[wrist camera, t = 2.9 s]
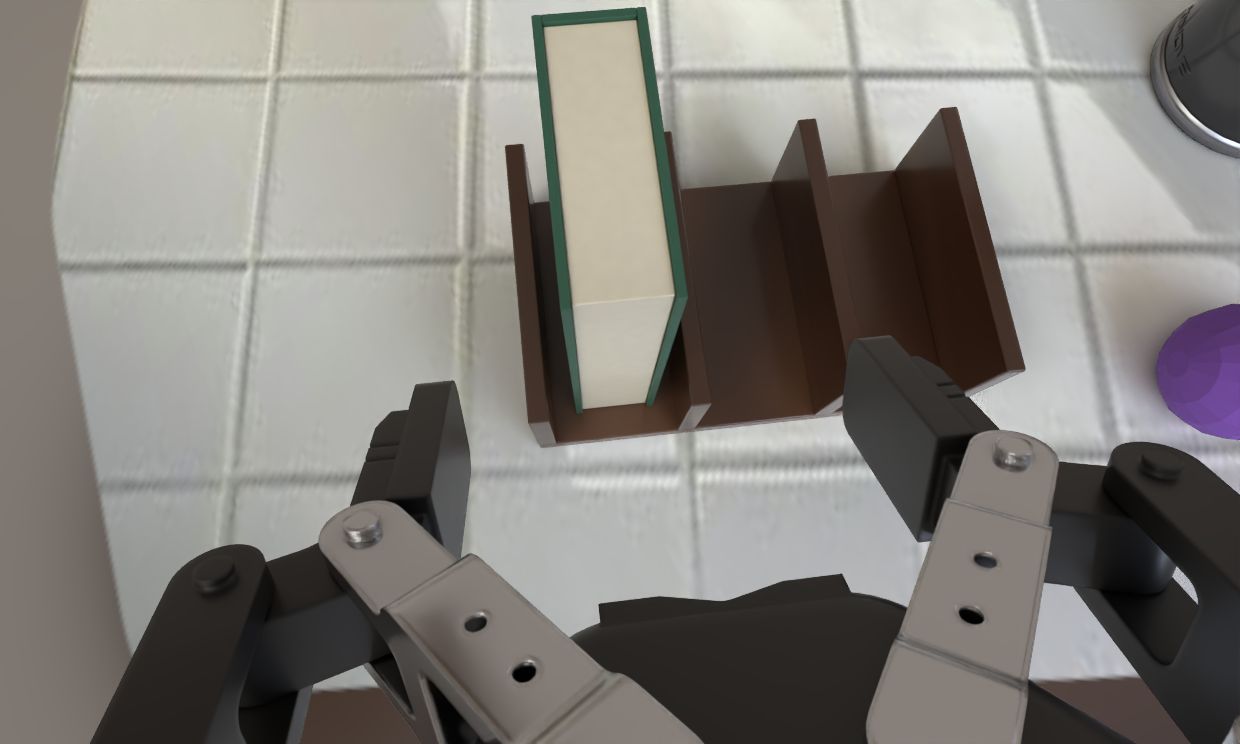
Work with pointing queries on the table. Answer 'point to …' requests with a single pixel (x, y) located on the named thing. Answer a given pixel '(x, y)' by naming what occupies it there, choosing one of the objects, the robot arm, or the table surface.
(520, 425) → the table surface
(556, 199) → the book
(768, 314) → the rack
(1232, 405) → the kendama
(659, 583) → the table surface
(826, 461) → the table surface
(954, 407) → the robot arm
